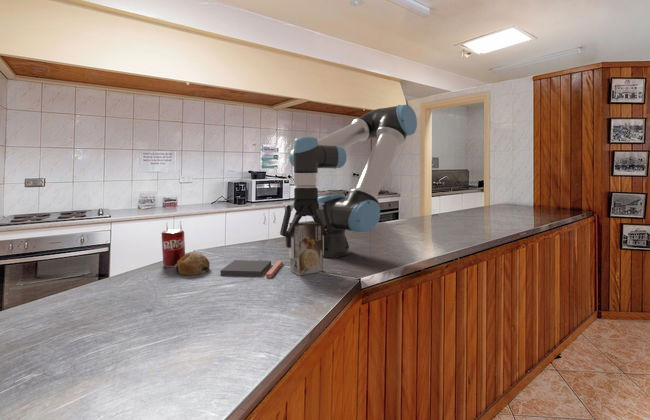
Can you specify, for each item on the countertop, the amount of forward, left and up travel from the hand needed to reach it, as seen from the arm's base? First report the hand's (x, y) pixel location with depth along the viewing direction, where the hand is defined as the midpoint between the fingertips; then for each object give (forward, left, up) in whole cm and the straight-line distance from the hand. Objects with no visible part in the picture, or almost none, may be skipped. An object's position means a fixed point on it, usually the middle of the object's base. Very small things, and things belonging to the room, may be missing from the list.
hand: (306, 255), depth 115 cm
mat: (+17, -10, -5) cm, 21 cm away
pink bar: (+9, -5, -5) cm, 12 cm away
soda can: (+39, -27, -5) cm, 48 cm away
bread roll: (+34, -16, -6) cm, 38 cm away
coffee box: (0, 0, -5) cm, 5 cm away
